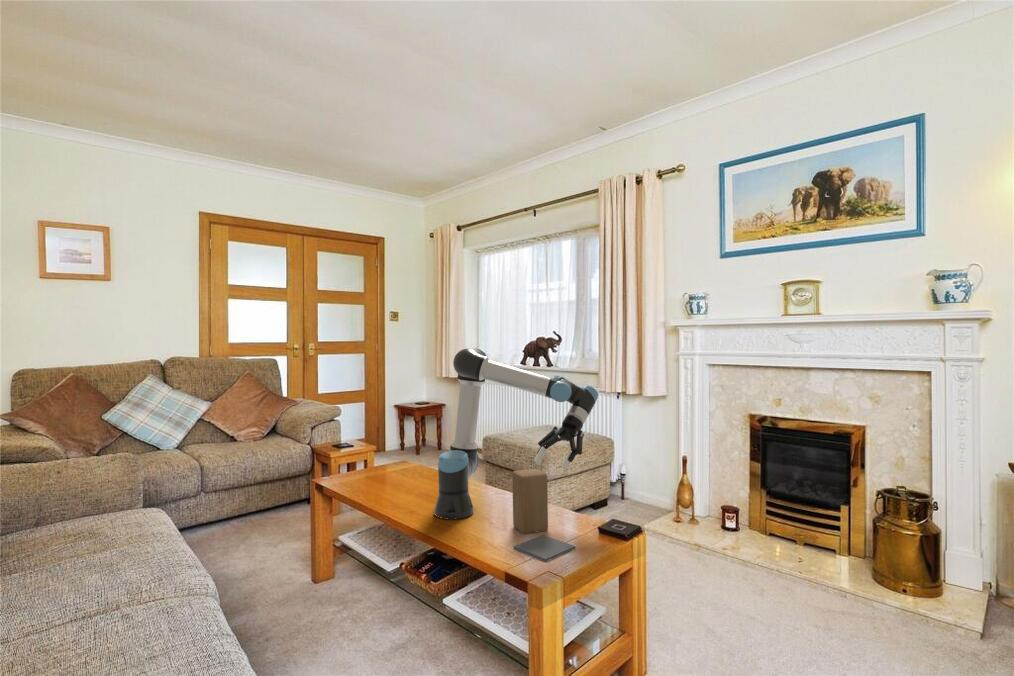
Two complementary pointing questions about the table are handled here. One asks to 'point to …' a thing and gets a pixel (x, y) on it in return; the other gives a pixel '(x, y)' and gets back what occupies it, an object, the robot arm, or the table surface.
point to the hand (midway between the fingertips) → (549, 465)
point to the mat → (544, 547)
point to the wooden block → (530, 501)
